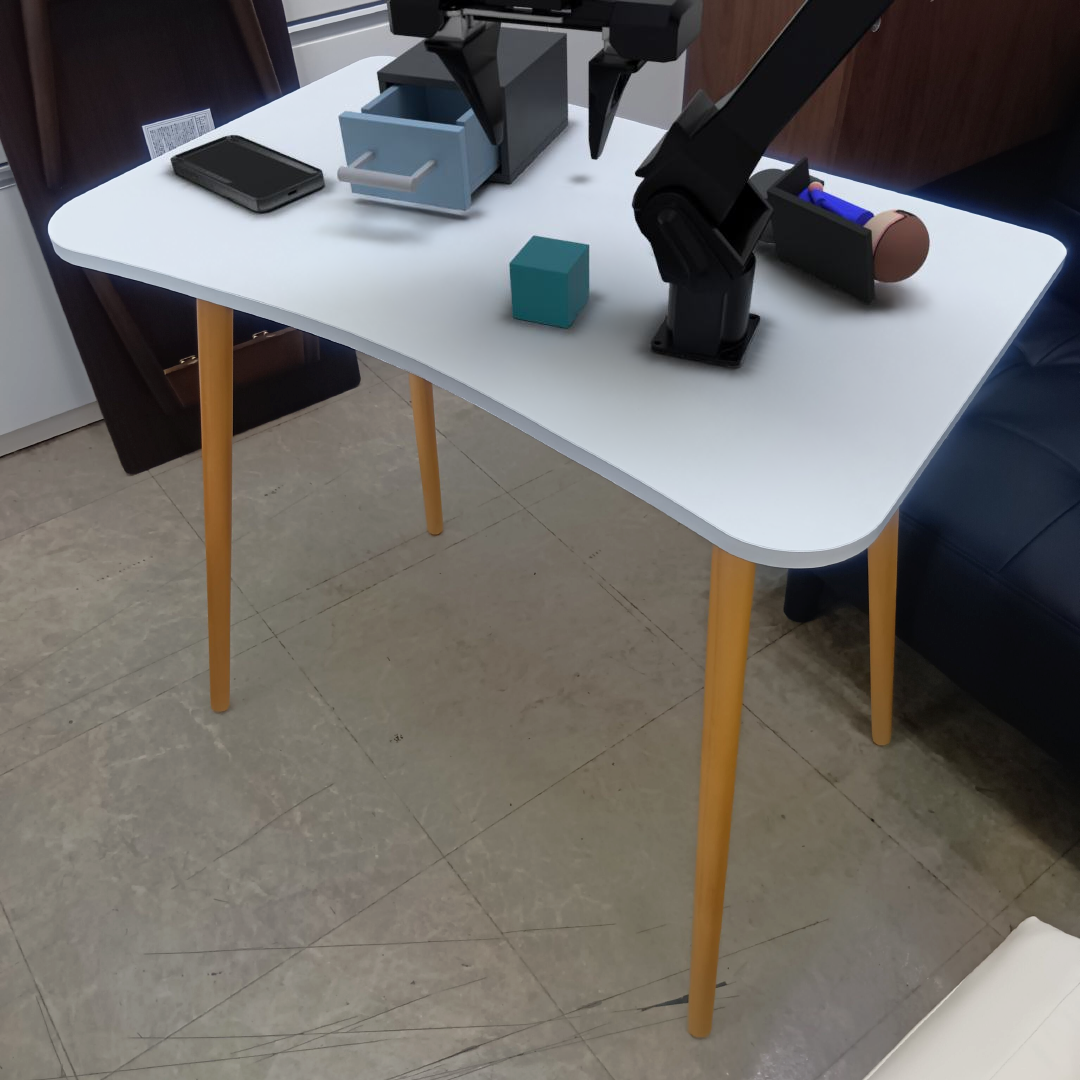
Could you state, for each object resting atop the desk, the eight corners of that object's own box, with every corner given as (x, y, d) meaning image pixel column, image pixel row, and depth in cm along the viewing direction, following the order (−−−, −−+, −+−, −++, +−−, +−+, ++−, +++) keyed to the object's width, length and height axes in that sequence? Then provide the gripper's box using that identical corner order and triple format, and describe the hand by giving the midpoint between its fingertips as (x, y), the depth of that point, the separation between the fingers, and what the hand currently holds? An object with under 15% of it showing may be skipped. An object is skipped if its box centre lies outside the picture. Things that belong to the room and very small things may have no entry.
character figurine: (781, 227, 82) (926, 302, 73) (718, 248, 78) (861, 328, 70) (801, 133, 76) (959, 200, 68) (734, 150, 73) (891, 223, 64)
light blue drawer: (440, 236, 80) (431, 155, 75) (323, 216, 84) (307, 137, 79) (527, 149, 92) (524, 74, 87) (421, 135, 96) (412, 62, 91)
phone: (233, 132, 97) (327, 171, 89) (236, 144, 98) (329, 183, 90) (164, 159, 93) (257, 202, 85) (168, 170, 94) (260, 214, 86)
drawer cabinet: (510, 184, 89) (504, 86, 83) (390, 166, 93) (376, 71, 87) (568, 124, 98) (567, 32, 92) (457, 110, 102) (449, 21, 96)
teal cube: (568, 328, 71) (567, 273, 68) (512, 318, 73) (508, 263, 69) (589, 298, 74) (589, 244, 71) (535, 288, 75) (533, 234, 72)
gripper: (738, -150, 56) (714, 121, 67) (451, -160, 62) (472, 92, 73) (683, -108, 49) (666, 189, 60) (364, -124, 55) (401, 151, 66)
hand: (546, 150), depth 65 cm, fingers open, 7 cm apart
